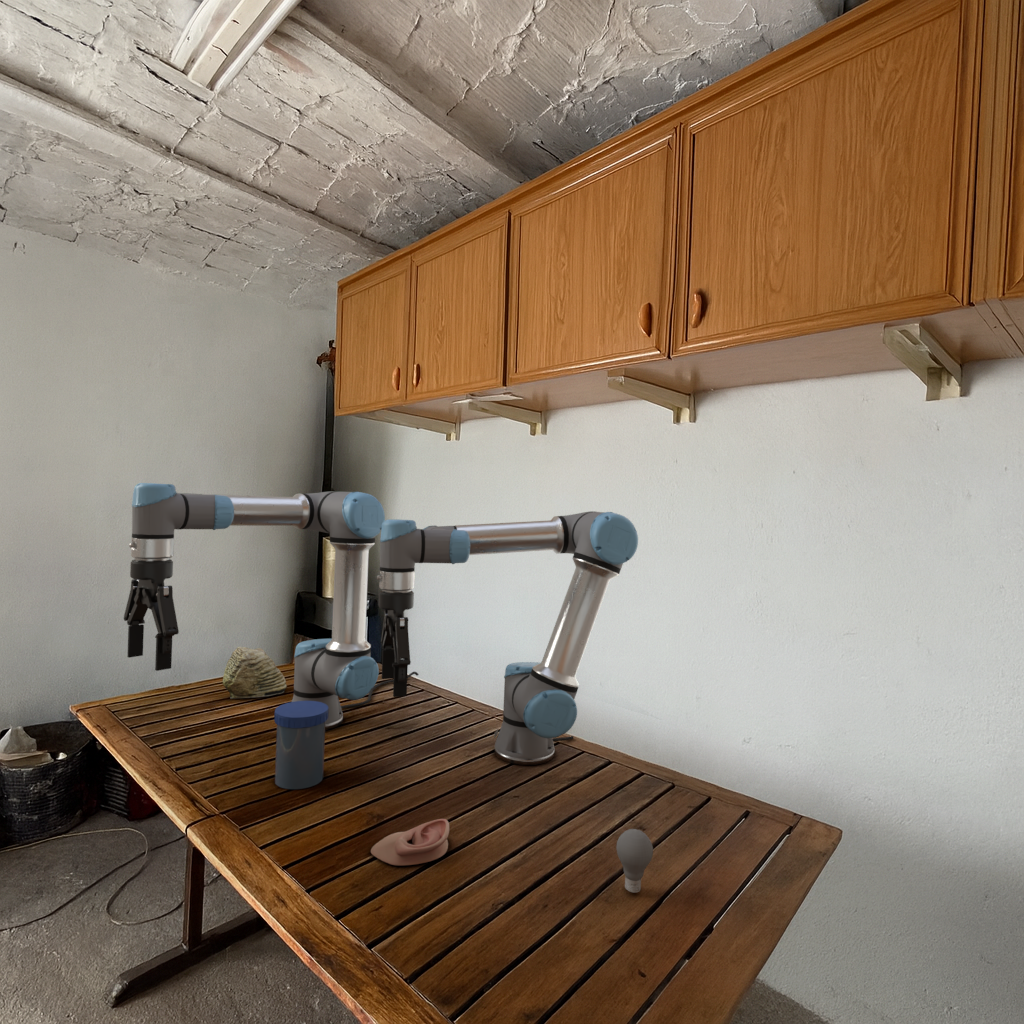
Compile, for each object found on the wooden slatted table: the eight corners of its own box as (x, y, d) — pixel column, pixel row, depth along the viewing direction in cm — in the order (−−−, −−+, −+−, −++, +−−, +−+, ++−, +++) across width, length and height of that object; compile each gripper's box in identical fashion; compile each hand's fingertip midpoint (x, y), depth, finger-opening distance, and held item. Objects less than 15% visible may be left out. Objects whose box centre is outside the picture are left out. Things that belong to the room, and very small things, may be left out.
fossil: (218, 695, 195) (220, 647, 195) (278, 685, 208) (279, 640, 207) (228, 703, 189) (230, 653, 188) (289, 692, 201) (290, 645, 201)
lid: (302, 707, 149) (302, 697, 149) (339, 716, 144) (339, 706, 144) (262, 721, 139) (263, 710, 139) (300, 732, 134) (301, 721, 134)
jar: (300, 765, 149) (302, 700, 148) (333, 775, 144) (335, 708, 144) (264, 781, 140) (267, 712, 139) (298, 793, 135) (301, 722, 134)
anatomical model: (363, 838, 111) (389, 807, 122) (362, 860, 111) (388, 827, 122) (436, 849, 108) (455, 817, 119) (435, 872, 108) (454, 838, 119)
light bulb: (610, 879, 108) (613, 822, 108) (644, 879, 109) (647, 822, 109) (619, 902, 102) (622, 840, 102) (655, 901, 103) (658, 840, 103)
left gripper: (108, 554, 134) (104, 654, 134) (159, 565, 118) (155, 678, 119) (146, 552, 140) (143, 648, 140) (199, 563, 124) (195, 671, 124)
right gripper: (370, 582, 148) (367, 672, 149) (390, 599, 125) (386, 706, 126) (401, 582, 151) (399, 670, 152) (427, 598, 128) (423, 703, 128)
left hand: (148, 662), depth 129 cm, fingers open, 13 cm apart
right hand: (393, 687), depth 139 cm, fingers open, 13 cm apart
